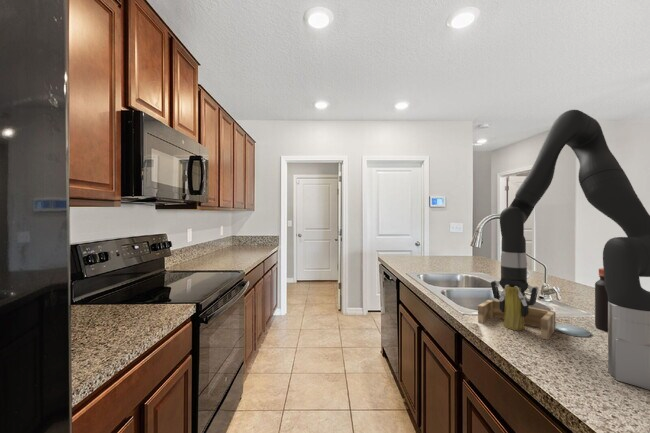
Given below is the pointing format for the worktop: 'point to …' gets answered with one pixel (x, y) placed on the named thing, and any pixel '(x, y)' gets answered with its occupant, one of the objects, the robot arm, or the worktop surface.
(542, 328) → the wooden bracket
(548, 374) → the worktop surface
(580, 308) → the worktop surface
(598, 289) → the bottle
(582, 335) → the trivet
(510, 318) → the vase
